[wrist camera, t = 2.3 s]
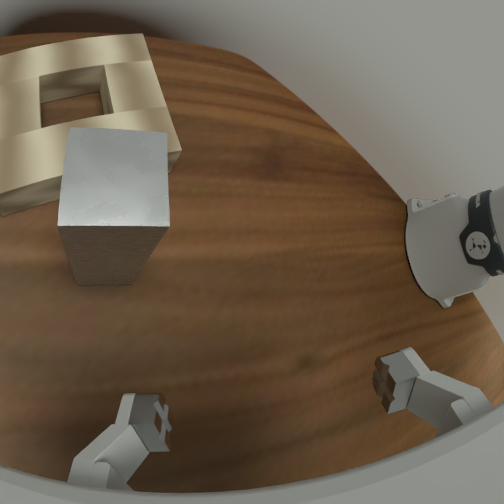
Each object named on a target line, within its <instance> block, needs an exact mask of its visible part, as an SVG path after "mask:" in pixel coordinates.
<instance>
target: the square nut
mask: <svg viewBox="0 0 504 504" xmlns="http://www.w3.org/2000/svg"><path fill="white" fill-rule="evenodd" d="M95 92H100V97H101V102H102V107H103V112H104V115H101V116H95V117H90V118H85V119H80V120H75V121H70V122H66V123H61V124H57V125H53V126H49V127H45V128H42V115H41V103H45V102H49V101H54V100H58V99H63V98H68V97H73V96H78V95H84V94H89V93H95ZM70 127H79V128H108V129H126V130H140V131H152V132H163V133H167V159H168V173H170V172H171V170H172V168H173V166H174V164H175V162H176V160H177V159H178V157H179V155H180V153H181V151H182V149H181V146H180V143H179V140H178V138H177V135H176V132H175V129H174V126H173V123H172V120H171V118H170V115H169V112H168V109H167V106H166V103H165V100H164V97H163V94H162V91H161V88H160V85H159V82H158V79H157V76H156V73H155V70H154V67H153V64H152V61H151V58H150V55H149V52H148V49H147V46H146V42H145V39H144V36H143V34H126V35H112V36H102V37H93V38H85V39H77V40H71V41H64V42H59V43H53V44H48V45H43V46H38V47H34V48H29V49H25V50H21V51H17V52H13V53H10V54H6V55H3V56H0V214H1V216H2V217H4V216H7V215H10V214H13V213H16V212H19V211H22V210H25V209H28V208H31V207H35V206H38V205H41V204H45V203H48V202H51V201H55V200H58V199H60V191H61V182H62V174H63V167H64V160H65V153H66V147H67V141H68V136H69V131H70Z"/></svg>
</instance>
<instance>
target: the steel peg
mask: <svg viewBox="0 0 504 504" xmlns="http://www.w3.org/2000/svg"><path fill="white" fill-rule="evenodd" d="M169 227H170V218H169V196H168V159H167V133H163V132H152V131H140V130H126V129H108V128H79V127H70V131H69V136H68V141H67V147H66V153H65V160H64V167H63V174H62V182H61V191H60V201H59V213H58V229H59V232H60V235H61V238H62V242H63V245H64V248H65V251H66V254H67V257H68V260H69V263H70V266H71V268H72V271H73V274H74V277H75V279H76V282H77V285H78V286H104V285H131V284H132V282H133V281H134V279H135V278H136V276H137V275H138V273H139V272H140V270H141V268H142V267H143V265H144V264H145V262H146V261H147V259H148V258H149V256H150V255H151V253H152V252H153V250H154V249H155V247H156V246H157V244H158V243H159V242H160V240H161V239H162V237H163V236H164V234H165V233H166V231H167V230H168V228H169Z"/></svg>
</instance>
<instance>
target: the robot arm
mask: <svg viewBox="0 0 504 504" xmlns="http://www.w3.org/2000/svg"><path fill="white" fill-rule="evenodd" d="M407 210H408V221H407V225H406V248H407V253H408V258H409V262H410V265H411V268H412V271H413V273H414V276H415V278H416V280H417V282H418V284H419V285H420V287H421V288H422V290H423V291H424V292H425V293H426V294H427V295H428V296H429V297H431V298H434V299H436V300H437V301H438V302H439V303H440V304H441V306H442V307H443V308H447V307H450V306H451V304H452V302H453V300H454V298H455V297H457V296H461V295H464V294H467V293H471V292H474V291H477V290H480V289H482V288H484V286H485V284H486V283H487V281H488V278H489V277H490V276H497V275H503V274H504V186H503V187H501V188H499V189H497V190H495V191H491V190H487V191H485V192H480V193H478V194H477V195H475V196H472V197H471V198H470V199H463V198H461V197H459V196H456V194H455V193H451V194H448V195H446V196H445V197H444V198H443V199H441V200H425V199H415V198H413V199H410V200H408V201H407ZM375 366H376V368H377V369H376V370H375V371H374V372H373V378H372V380H373V386H374V390H375V392H376V394H377V395H379V396H381V397H382V401H381V403H382V405H383V407H384V408H385V410H386V412H387V414H390V413H393V412H396V411H399V410H402V409H405V408H407V410H409V411H410V412H412V413H413V414H415V415H417V416H418V417H420V418H421V419H423V420H425V421H426V422H428V423H429V424H431V425H433V426H434V427H436V428H438V429H439V430H438V432H437V434H436V436H435V438H434V439H432V440H430V441H427V442H425V443H423V444H420V445H418V446H416V447H413V448H411V449H408V450H406V451H403V452H400V453H398V454H395V455H392V456H390V457H387V458H384V459H381V460H378V461H375V462H372V463H369V464H366V465H362V466H359V467H356V468H352V469H349V470H345V471H341V472H338V473H334V474H330V475H326V476H321V477H317V478H312V479H308V480H303V481H298V482H292V483H287V484H281V485H275V486H268V487H261V488H253V489H244V490H234V491H221V492H202V493H157V492H138V491H134V490H133V489H132V488H131V487H130V486H129V485H128V484H127V481H128V480H129V479H130V478H131V476H132V475H133V474H134V472H135V471H136V470H137V469H138V467H139V466H140V465H141V463H142V462H143V461H144V459H145V458H146V457H147V455H148V454H149V452H163V451H170V446H171V436H170V434H169V432H170V431H171V429H172V424H173V421H172V414H171V410H170V408H169V406H167V405H166V404H165V397H164V395H163V393H125V394H124V395H123V396H122V400H121V403H120V407H119V410H118V414H117V418H116V421H115V424H111V425H110V426H109V427H108V428H107V429H106V430H105V431H104V432H102V433H101V434H100V435H99V436H98V437H97V438H96V439H95V440H94V441H92V442H91V443H90V444H89V445H88V446H87V447H86V448H85V449H83V450H82V451H81V452H80V453H79V454H78V455H77V456H76V457H74V460H73V463H72V467H71V470H70V474H69V477H68V481H67V482H64V481H59V480H55V479H50V478H46V477H42V476H38V475H34V474H30V473H27V472H23V471H20V470H17V469H13V468H10V467H7V466H4V465H0V504H504V402H502V403H500V404H499V405H497V406H495V407H493V406H492V404H491V403H490V402H489V400H488V399H487V398H486V397H485V395H484V394H483V393H482V392H481V390H480V389H479V388H476V387H474V386H471V385H468V384H466V383H463V382H461V381H458V380H456V379H453V378H451V377H448V376H446V375H443V374H441V373H438V372H436V371H430V370H429V369H428V367H427V366H426V365H425V363H424V362H423V361H422V360H421V358H420V357H419V356H418V354H417V353H416V352H415V351H414V349H413V348H411V347H409V348H406V349H403V350H400V351H396V352H393V353H390V354H386V355H383V356H379V357H377V358H376V360H375Z"/></svg>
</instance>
